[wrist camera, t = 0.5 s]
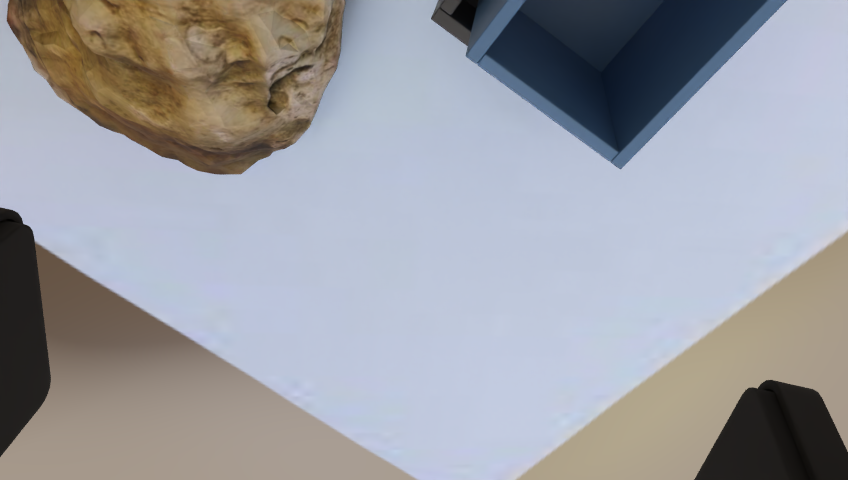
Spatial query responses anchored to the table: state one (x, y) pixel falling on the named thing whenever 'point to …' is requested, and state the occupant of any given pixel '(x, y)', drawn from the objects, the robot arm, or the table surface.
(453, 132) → the table surface
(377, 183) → the table surface
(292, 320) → the table surface
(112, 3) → the rock
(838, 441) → the robot arm
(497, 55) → the blue bin
